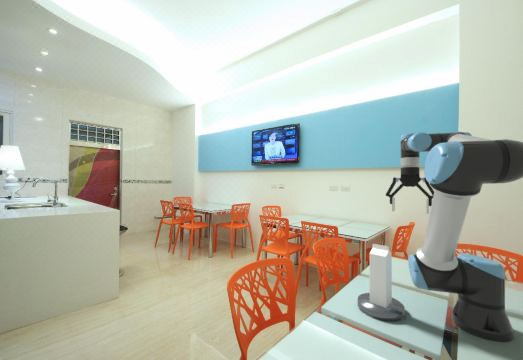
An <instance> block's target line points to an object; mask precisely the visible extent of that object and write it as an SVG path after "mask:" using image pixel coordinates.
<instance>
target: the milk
mask: <svg viewBox="0 0 523 360" xmlns="http://www.w3.org/2000/svg"><path fill="white" fill-rule="evenodd" d="M392 254H393V253H392V252H391V251H390V247H389V246H388V245H382V244H376V243H373V244H372V248H371V250H370V252H369V293H370V303H373V304H376V305H378V306H381V307H384V308H387V307H388V306H389V305H390V304H391V303H392V298H393V297H392V294H393V293H392V292H393V291H392V289H393V288H392V287H393V283H392V279H393V277H392V276H393V275H392V274H393V273H392V271H393V270H392V268H393V266H392V265H393V264H392V263H393V262H392V261H393V260H392V256H393V255H392Z"/></svg>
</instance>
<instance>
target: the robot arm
mask: <svg viewBox="0 0 523 360" xmlns="http://www.w3.org/2000/svg"><path fill="white" fill-rule="evenodd" d="M399 142H400V143H399V144H400V167H401V168H400V177H395V176H394V177H393V178H392V182H391V184H390V185H389V188H388V189H387V191H386V193H385V196H386V197H387V198H389V204H390V205H391V207H392V208H391V209H392V210H391V211H392V212H395V211H396V205H395V204H396V197H394V196H395V195H396V194H397V193H398V192H399V191H400V190H401V189H402V188H403V187H406V188H408V187H411V188H414V187H417V188H418V190H420V191H421V192H422V193H423V194H424V196H426V197H427V198H426V214H427V215H428V214H429V215H428V221H427V225H426V230H425V235H424V240H423V245H421V246H419V247H418V248H417V250H416V252H415V254H414V253H412V254H409V255H408V258H407V261H408V263H407V264H408V269H409V274H410V278H411V281H412V283H413V285H414V287H415V288H417V289H419V290H424V291H425V290H426V291H428V292H429V291H433V292H439V293H449V294H457V299H456V301H455V303H454V306H453V308H452V310H451V320H452V322H453V323H454V324H455V325H456V326H458V327H459V328H460V329H462V330H464V331H466V332H467V333H470V334H472V335H475V336H477V337H480V338H483V339H487V340H491V341H495V342H508V341H512V340H513V339H514V330H513V329H514V328H513V327H512V324H511V321H510V319H509V316H508V314H507V311H506V279H507V278H506V271H505V268H504V266H503V265H502V264H501V263H499V262H498V261H495V260H492V259H490V258H488V257H484V256H480V255H475V254H470V253H458V254H457V257H456V256H455V254H456V251H457V246H458V243H459V240H460V237H461V233H462V230H463V227H464V223H465V219H466V216H467V213H468V209H469V205H470V202H471V198H472V197H475V196H478V195H479V194H480V193H481V190H482V187H483V185H484V184H491V185H492V184H495V185H496V184H506V183H512V182H515V181H518V180H520V179H522V178H523V142H522V141H519V140H513V139H506V138H505V139H503V138H502V139H494V140H493V139H487V138H483V137H478V136H473V135H472V134H471V133H470V132H469V131H467V132H466V131H456V132H441V133H440V132H439V133H438V132H437V133H426V132H423V131H422V132H416V133H414V132H411V133H405V134H402V135H401V136H400V141H399ZM420 152H421V153H422V152H423V153H426V152H428V154H427V156H426V159H425V163H424V169H425V170H424V174H423V175H424V177H421V176H420V174H421V173H420V172H421V171H420V169H421V168H420V164H421V163H420ZM399 181H400V184H399V185H398V187H397V188H396V189H395V190H393V189H394V188H395V186H396V183H398V182H399ZM421 181H422V182H423V183H425V186H426V188H427V189H428V190H429V192H430V193H429V192H427V190H426V189H425V188H423V187H422V185H420V182H421ZM392 191H393V192H392ZM430 194H431V195H430Z"/></svg>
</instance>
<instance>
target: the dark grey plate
mask: <svg viewBox="0 0 523 360" xmlns="http://www.w3.org/2000/svg"><path fill="white" fill-rule="evenodd" d="M358 307H359V308H358ZM357 308H358V309H359V310H360V311H361V312H362V313H363V314H364V313H365V315H366V316H369V317H370V318H371V319H375V320H378V319H379V321H382V320H383V321H384V322H399V321H402V320H403V319H404V318H405V315H406V314H405V306H404V304H403V302H401V301H399V300H398V299H396V298H394V297H392V303H391V304H390V305H389V306H388V307H387V308H384V307H381V306H378V305H376V304H373V303H370V292H365V293H361V294H359V295H358V297H357Z"/></svg>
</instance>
